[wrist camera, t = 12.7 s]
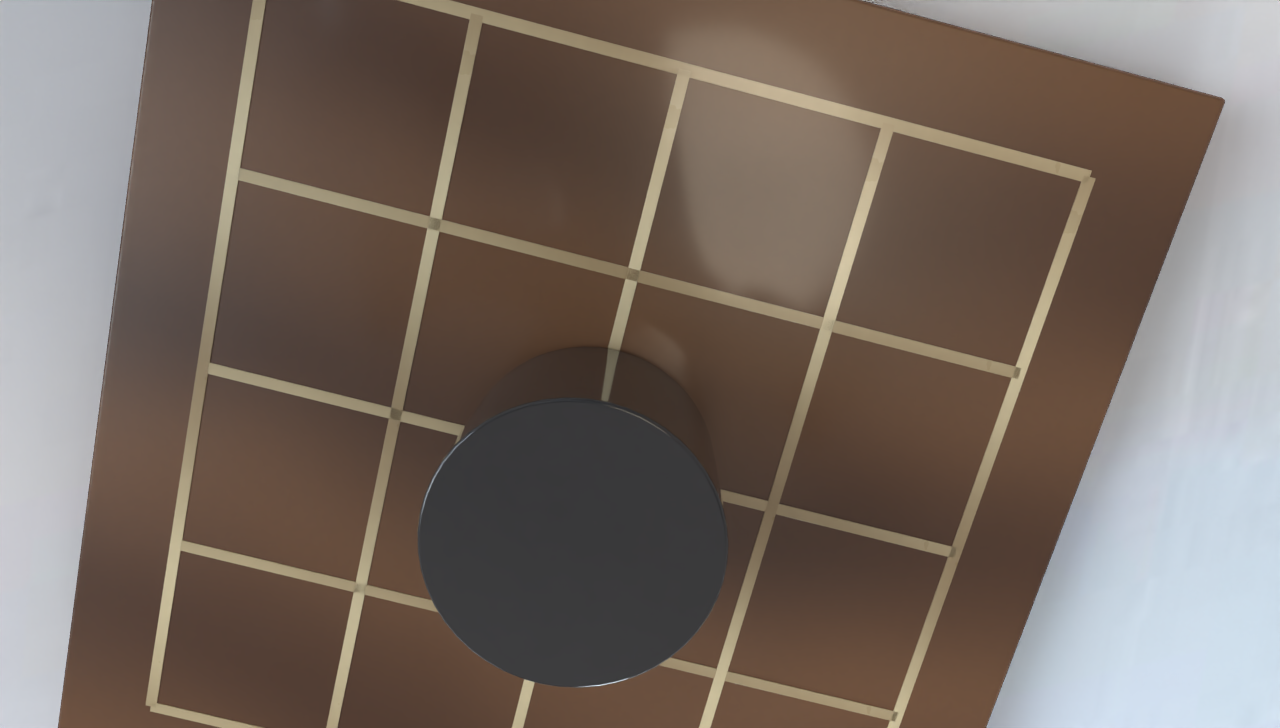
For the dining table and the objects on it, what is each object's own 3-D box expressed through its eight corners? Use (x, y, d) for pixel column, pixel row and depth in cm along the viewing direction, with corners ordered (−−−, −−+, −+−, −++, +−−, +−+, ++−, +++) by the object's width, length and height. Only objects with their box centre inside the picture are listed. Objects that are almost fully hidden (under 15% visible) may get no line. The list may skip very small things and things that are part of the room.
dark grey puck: (411, 450, 20) (351, 526, 16) (605, 293, 19) (592, 333, 15) (573, 629, 21) (553, 743, 17) (765, 486, 20) (792, 571, 16)
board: (211, -162, 19) (173, -187, 17) (1184, 101, 19) (1229, 98, 18) (90, 722, 23) (51, 762, 22) (884, 907, 24) (900, 957, 22)
